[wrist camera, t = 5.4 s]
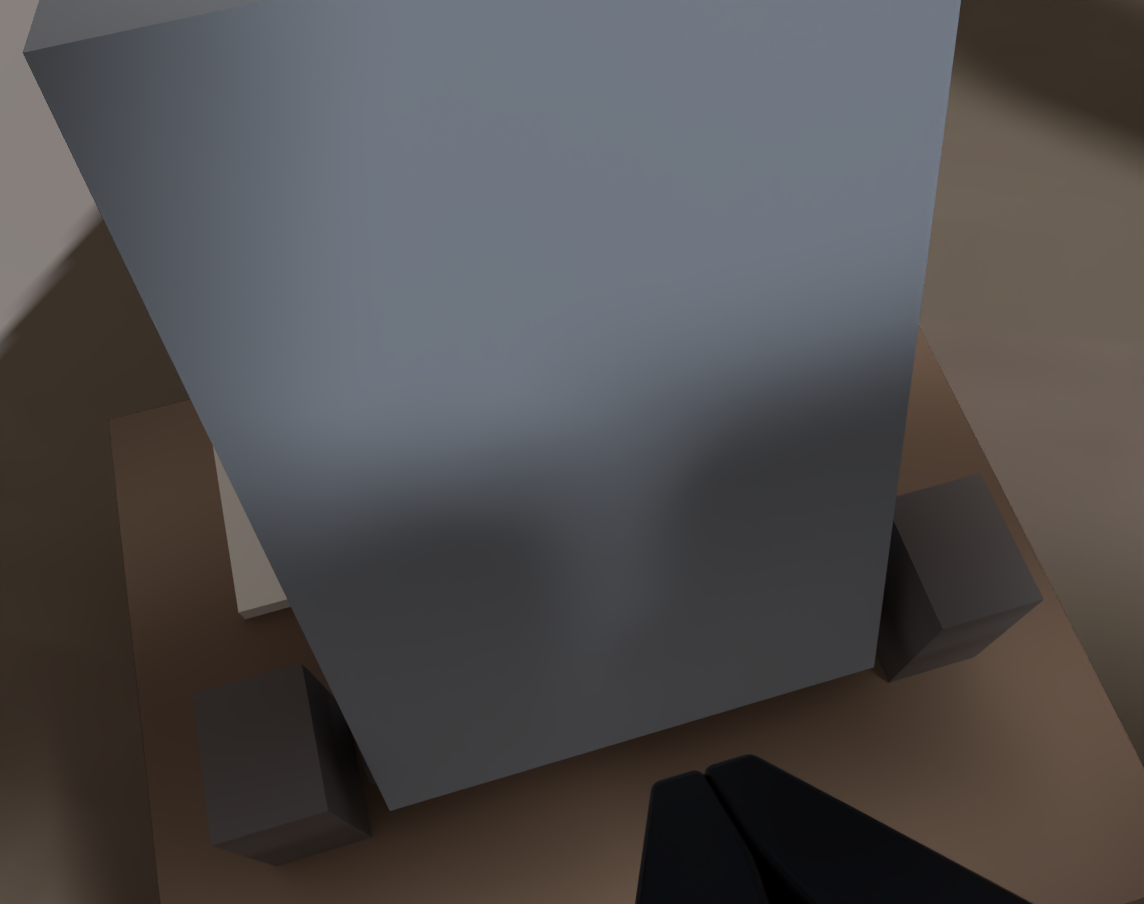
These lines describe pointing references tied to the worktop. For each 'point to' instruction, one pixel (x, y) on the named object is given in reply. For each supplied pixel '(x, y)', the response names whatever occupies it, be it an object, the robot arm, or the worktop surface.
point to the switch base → (629, 769)
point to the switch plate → (247, 557)
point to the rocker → (533, 334)
